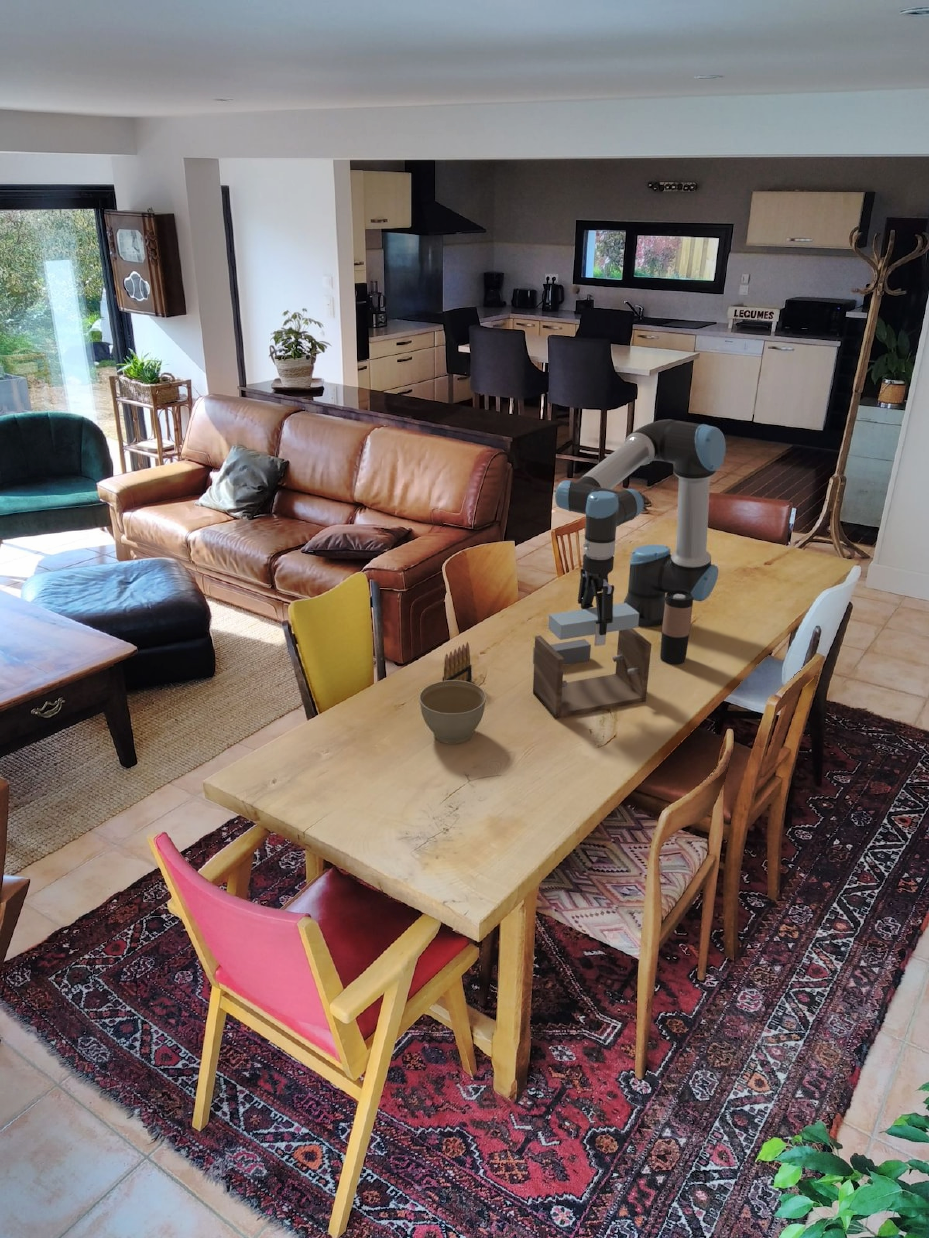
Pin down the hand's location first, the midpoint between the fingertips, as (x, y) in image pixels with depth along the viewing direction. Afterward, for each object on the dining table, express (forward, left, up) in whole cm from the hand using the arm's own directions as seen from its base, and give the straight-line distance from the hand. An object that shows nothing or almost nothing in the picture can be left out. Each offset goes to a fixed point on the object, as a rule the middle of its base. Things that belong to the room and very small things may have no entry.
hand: (592, 638), depth 234 cm
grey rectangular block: (-2, -21, -17) cm, 27 cm away
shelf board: (0, 0, +3) cm, 3 cm away
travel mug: (-33, -12, -18) cm, 39 cm away
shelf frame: (0, 0, -17) cm, 17 cm away
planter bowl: (+40, +5, -18) cm, 44 cm away
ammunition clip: (+31, -17, -18) cm, 40 cm away
